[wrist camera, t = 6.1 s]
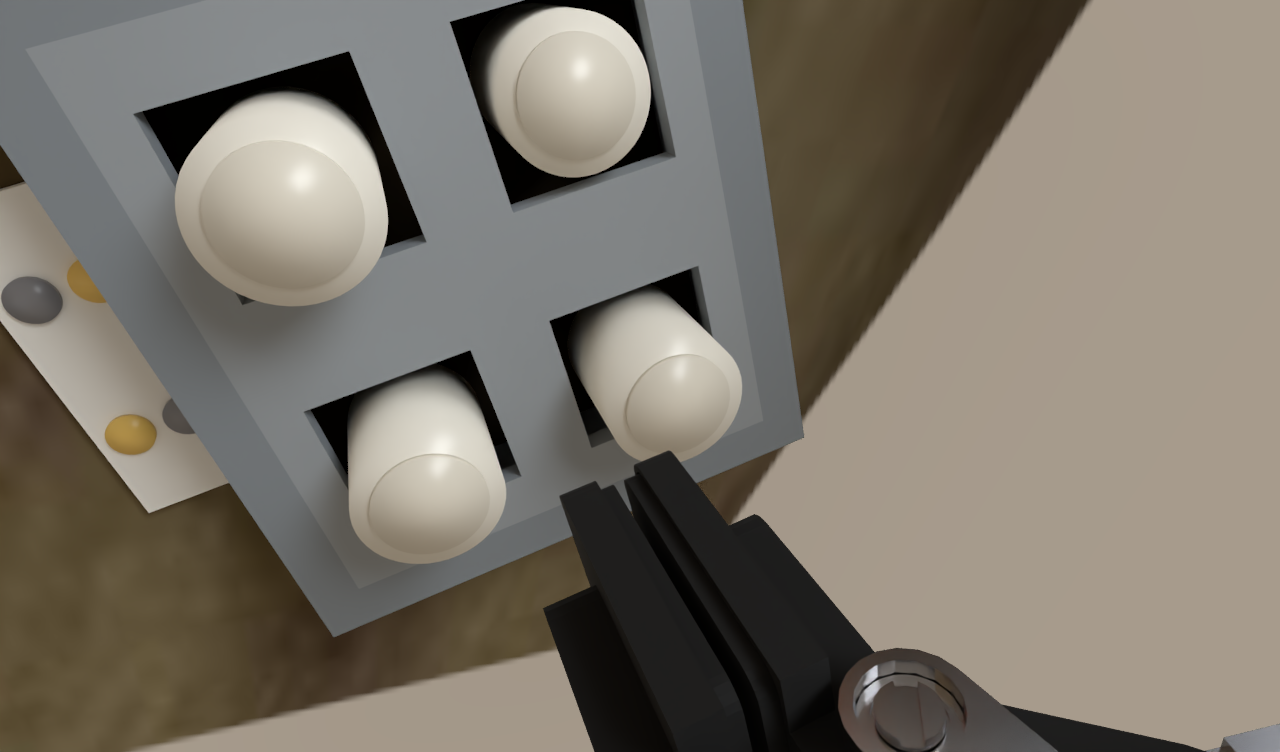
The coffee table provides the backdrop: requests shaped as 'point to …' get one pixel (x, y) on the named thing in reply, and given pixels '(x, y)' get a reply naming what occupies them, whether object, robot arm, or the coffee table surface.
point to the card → (94, 360)
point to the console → (403, 255)
